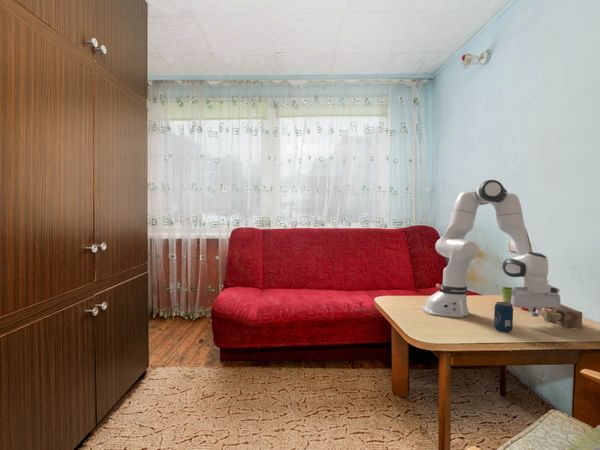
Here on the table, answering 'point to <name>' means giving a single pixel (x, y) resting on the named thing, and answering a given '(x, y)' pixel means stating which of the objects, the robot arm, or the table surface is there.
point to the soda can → (503, 317)
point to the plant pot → (507, 294)
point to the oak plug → (553, 316)
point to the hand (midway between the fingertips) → (534, 316)
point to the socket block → (568, 317)
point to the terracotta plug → (546, 311)
